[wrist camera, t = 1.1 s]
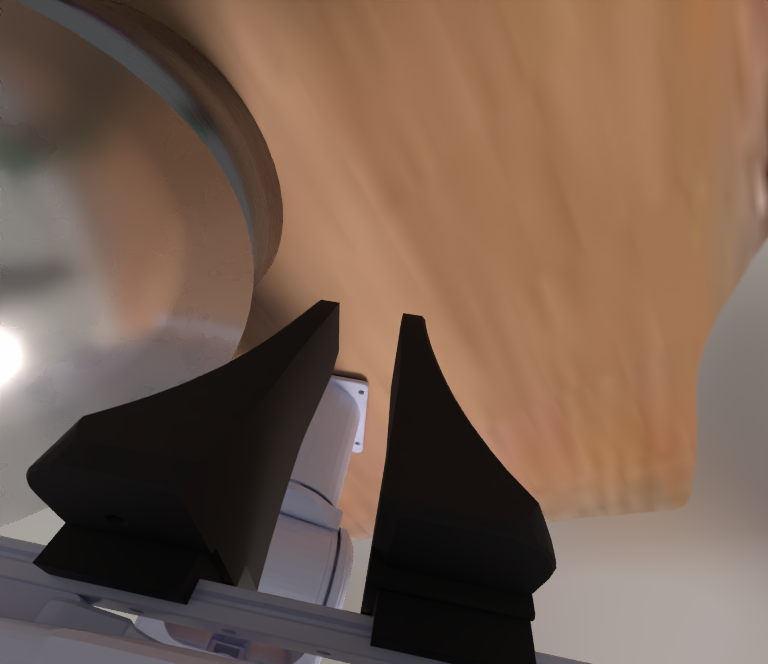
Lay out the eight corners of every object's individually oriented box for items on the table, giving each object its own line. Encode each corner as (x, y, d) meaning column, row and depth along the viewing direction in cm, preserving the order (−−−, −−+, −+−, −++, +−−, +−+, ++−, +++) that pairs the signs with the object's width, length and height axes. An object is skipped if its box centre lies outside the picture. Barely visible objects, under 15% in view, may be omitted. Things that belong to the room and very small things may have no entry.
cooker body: (292, 316, 25) (262, 363, 21) (84, 281, 26) (18, 320, 22) (256, -101, 13) (172, -173, 9) (-127, -136, 14) (-352, -215, 10)
